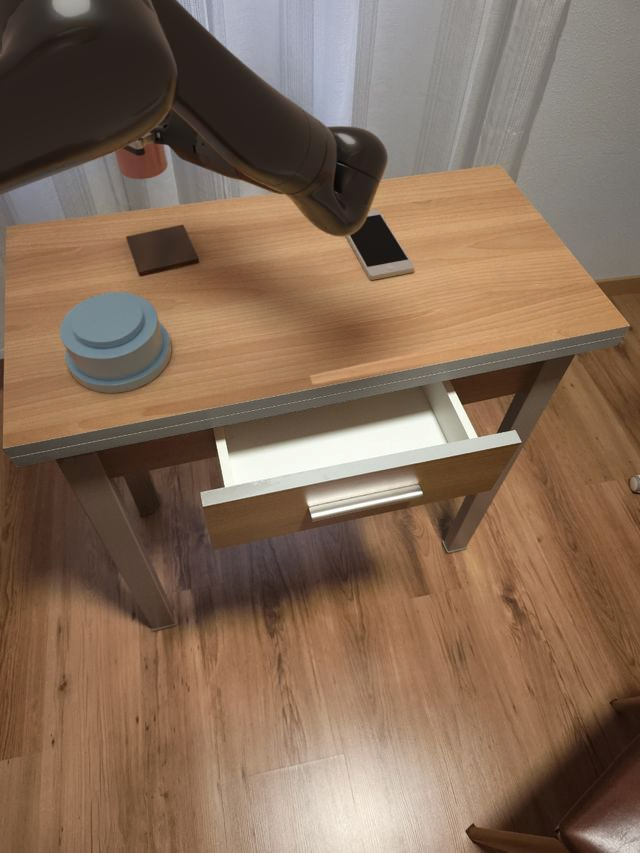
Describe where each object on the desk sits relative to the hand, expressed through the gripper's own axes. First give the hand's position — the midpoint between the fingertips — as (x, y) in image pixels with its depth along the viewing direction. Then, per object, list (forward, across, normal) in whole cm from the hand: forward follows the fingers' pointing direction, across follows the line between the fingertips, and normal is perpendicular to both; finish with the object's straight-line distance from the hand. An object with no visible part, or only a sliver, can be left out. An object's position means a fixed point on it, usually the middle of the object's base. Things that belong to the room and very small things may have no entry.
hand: (114, 97), depth 70 cm
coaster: (-2, 0, +22) cm, 22 cm away
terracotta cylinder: (-2, 0, +8) cm, 8 cm away
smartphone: (-28, -20, +22) cm, 41 cm away
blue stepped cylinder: (-12, +19, +22) cm, 31 cm away
